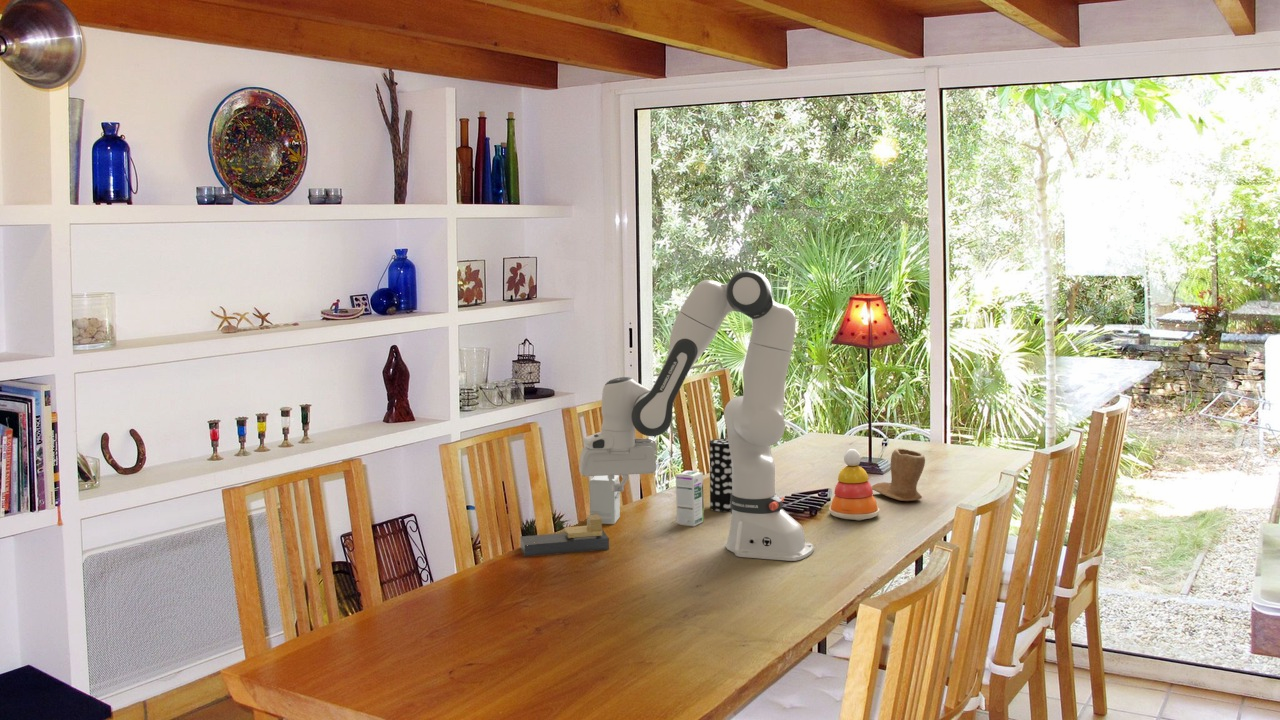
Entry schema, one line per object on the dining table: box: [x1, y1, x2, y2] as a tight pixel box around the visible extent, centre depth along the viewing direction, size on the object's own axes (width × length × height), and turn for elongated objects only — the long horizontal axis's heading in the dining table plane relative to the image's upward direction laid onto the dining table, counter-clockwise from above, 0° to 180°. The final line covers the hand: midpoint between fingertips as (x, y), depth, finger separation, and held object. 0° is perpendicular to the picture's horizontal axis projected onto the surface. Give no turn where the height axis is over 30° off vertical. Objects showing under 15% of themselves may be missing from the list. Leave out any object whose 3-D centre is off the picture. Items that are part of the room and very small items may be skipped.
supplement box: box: [589, 475, 621, 525], centre depth 314 cm, size 7×7×13 cm
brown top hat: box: [871, 447, 926, 502], centre depth 334 cm, size 15×12×15 cm
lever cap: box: [563, 514, 603, 538], centre depth 288 cm, size 9×6×4 cm, turn 104°
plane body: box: [520, 529, 610, 557], centre depth 288 cm, size 22×8×3 cm, turn 104°
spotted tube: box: [709, 438, 732, 513], centre depth 325 cm, size 8×8×20 cm
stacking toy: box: [828, 448, 880, 521], centre depth 314 cm, size 14×14×20 cm
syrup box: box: [675, 470, 705, 527], centre depth 310 cm, size 6×6×14 cm
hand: (617, 491), depth 290 cm, fingers closed
